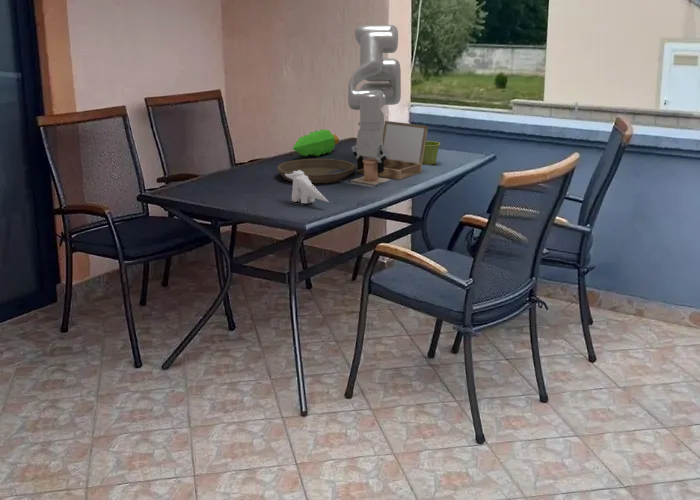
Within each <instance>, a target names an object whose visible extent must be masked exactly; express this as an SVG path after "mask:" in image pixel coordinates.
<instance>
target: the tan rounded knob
mask: <svg viewBox="0 0 700 500" xmlns="http://www.w3.org/2000/svg"><path fill="white" fill-rule="evenodd" d="M378 162H379V161H378V160H377V158H365V157H363V163H364V174H363V176H364V181H377V180H378V177H379V176H378V172H377V163H378Z"/></svg>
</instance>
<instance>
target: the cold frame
mask: <svg viewBox="0 0 700 500" xmlns="http://www.w3.org/2000/svg"><path fill="white" fill-rule="evenodd" d="M422 166H423V164H421V163H417V162H410V161H403V160H397V159H390V158H387V159H386V160H385V162H384V172H381V173H378V177H380V178H386V179H391V180H392V179H393V180H398V181H399V180H403V179H407V178H410V177H412V176H415V175H418V174H422V172H423V171H422ZM355 167H357V163H356V164H355ZM356 174H363V175H364V168H363V169H360V170H358V169H357V168H356Z"/></svg>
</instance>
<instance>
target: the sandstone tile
mask: <svg viewBox="0 0 700 500" xmlns="http://www.w3.org/2000/svg"><path fill="white" fill-rule="evenodd" d="M391 180H392V178H386V177H379V176H378V180H377V181H364V175H363V176H360V177H356V178H353V179H350V184H354V185H355V184H356V185H360V184H361V186H368V187H373V188H377V187H378V184H381V183H385V182H387V181H391Z"/></svg>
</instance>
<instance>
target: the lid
mask: <svg viewBox="0 0 700 500" xmlns="http://www.w3.org/2000/svg"><path fill="white" fill-rule="evenodd" d="M428 128H429V125H426V124H425V125H424V124H415V123H408V122H407V123H406V122H398V121H390V120H384V131H383V147H384V148H385V149H387V150H388V151H389V152H390V153H389V155H388V158H387V159H393V160H400V161H407V162H413V163H420V164H421V163H422V162H423V155H424V149H425V143H426V141H427V135H428ZM383 156H384V153H383Z"/></svg>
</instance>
